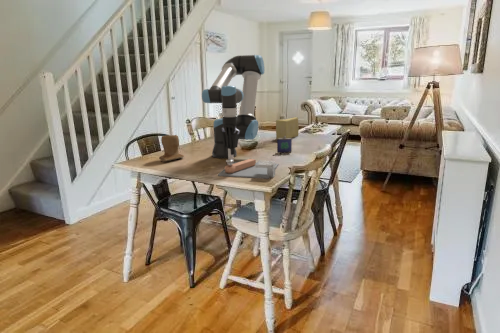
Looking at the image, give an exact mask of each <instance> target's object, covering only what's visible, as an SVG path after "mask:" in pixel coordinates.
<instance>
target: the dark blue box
mask: <svg viewBox="0 0 500 333" xmlns="http://www.w3.org/2000/svg"><path fill="white" fill-rule="evenodd" d="M292 141H293V138H286V136H284V137H283V138H278V139H276V146H277V147H276V148H277V149H276V152H277V154H283V153H284V154H287V153H289V154H290V153H292V152H293V150H292V149H293V148H292V144H293V142H292Z"/></svg>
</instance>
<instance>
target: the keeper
mask: <svg viewBox="0 0 500 333" xmlns="http://www.w3.org/2000/svg"><path fill="white" fill-rule="evenodd" d="M275 164H276V161H275V160H260V159H259V160H258V161H256V164H255V167H256V168H267V176H270V178H274V177H275V175H276V169H275Z"/></svg>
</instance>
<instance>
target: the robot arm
mask: <svg viewBox="0 0 500 333" xmlns="http://www.w3.org/2000/svg"><path fill="white" fill-rule="evenodd" d="M264 74H265V63H264V59H263V56H262V55H261V54H249V55H247V54H246V55H236V56H233V57H231V58H230V59H228V60H227V61H226V62H224V63H223V65H222V66H221V71H220V73H219V74H218V76H217V77H216V79H215V80H214V82H213V83H212V85H211V86H210V88H207V89H203V90H202V92H201V99H202V101H203V103H205V104H221V109H222V110H221V111H222V118H217V119H215V120H214V121H213V127H212V128H213V141H214V142H213V143H214V144H213V148H212V152H211V154H212V155H211V156H212V157H213V158H215V159H227V160H228V159H233V160H235V157H236V156H237V155H238V153H237V152H238V151H237V149H236V148H238V145H239V140H245V141H249V140H250V141H251V140H255V138H256V137H257V135H258V133H259V122H258V120H257V118H256V117H255V108H256V101H257V100H256V99H257V92H258V81H259V80H260V79H261V77H262V75H264ZM236 76H241V77H242V78H243V84H242V90H241V89H239V88H237V87H236V85H230V82H231V81H232V80H233V78H235V77H236ZM238 103H240V108H239V109H240V110H239V114H238V110H237V104H238Z"/></svg>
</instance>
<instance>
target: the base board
mask: <svg viewBox="0 0 500 333" xmlns="http://www.w3.org/2000/svg"><path fill="white" fill-rule="evenodd" d="M238 162H239V161H234V162H232V163H233V164H235V163H238ZM279 166H280V164H279V163H275V170H277V168H278V167H279ZM217 176H218V177H233V178H252V179H265V180H267V179H270V178H271V177H270V176H267V168H256V167H255V165H254V166H251V167H248V168H245V169H242V170H239V171H236V172H234V173H226V172H225V168H224V169H222V170H221V171H220V172H219V173H217Z"/></svg>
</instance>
